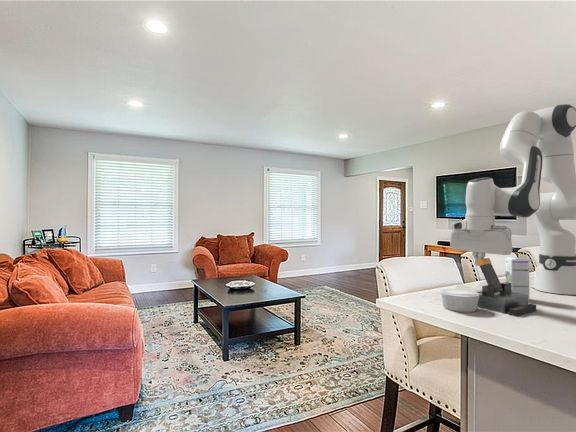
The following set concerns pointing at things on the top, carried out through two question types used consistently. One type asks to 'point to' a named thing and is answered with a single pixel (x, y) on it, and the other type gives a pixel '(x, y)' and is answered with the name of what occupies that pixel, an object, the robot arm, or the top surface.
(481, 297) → the stepped grey base plate
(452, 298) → the ramekin
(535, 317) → the top surface
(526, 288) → the syrup box
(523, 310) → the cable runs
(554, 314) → the top surface
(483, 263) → the lever
